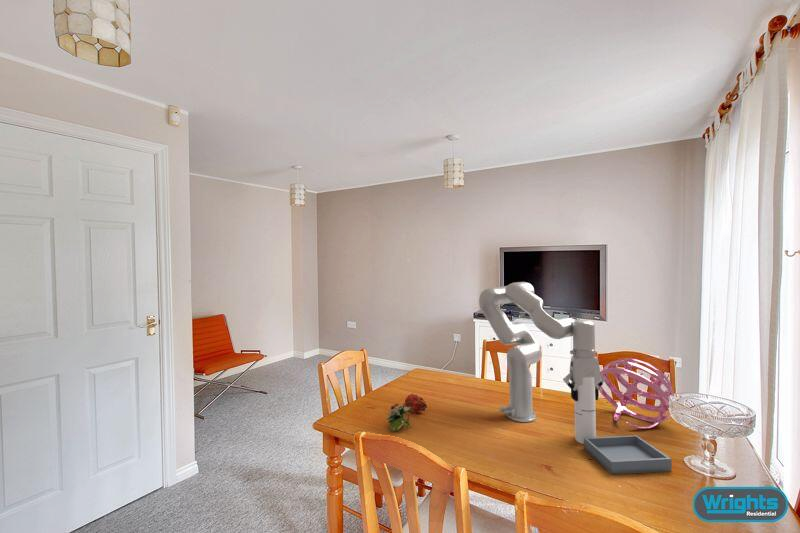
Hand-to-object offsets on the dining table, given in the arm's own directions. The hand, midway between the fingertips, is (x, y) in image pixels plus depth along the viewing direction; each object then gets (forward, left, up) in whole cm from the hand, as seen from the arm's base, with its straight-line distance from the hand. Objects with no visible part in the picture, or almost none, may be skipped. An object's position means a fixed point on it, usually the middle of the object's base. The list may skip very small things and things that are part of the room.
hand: (584, 399), depth 138 cm
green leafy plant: (-70, +18, -16) cm, 74 cm away
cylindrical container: (0, 0, -16) cm, 16 cm away
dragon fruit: (-62, +33, -16) cm, 72 cm away
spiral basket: (+30, +13, -16) cm, 36 cm away
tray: (+6, -14, -16) cm, 22 cm away
